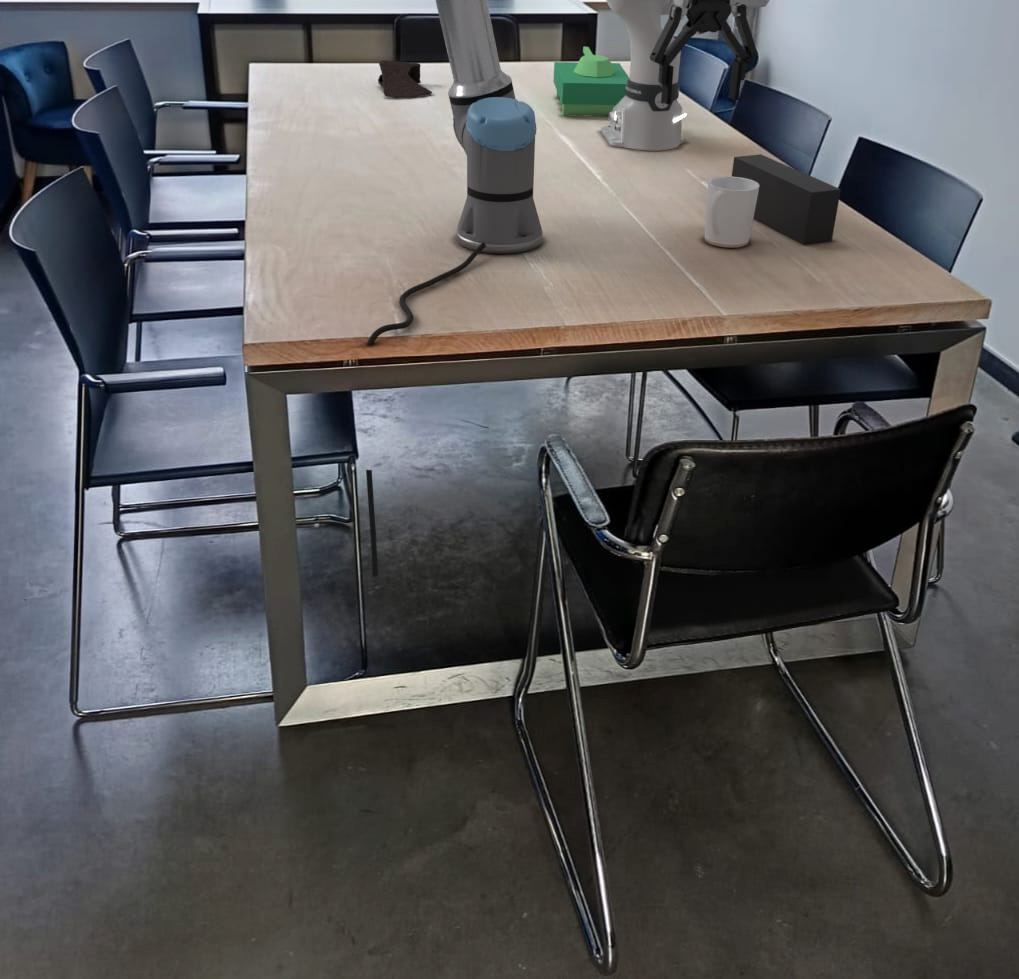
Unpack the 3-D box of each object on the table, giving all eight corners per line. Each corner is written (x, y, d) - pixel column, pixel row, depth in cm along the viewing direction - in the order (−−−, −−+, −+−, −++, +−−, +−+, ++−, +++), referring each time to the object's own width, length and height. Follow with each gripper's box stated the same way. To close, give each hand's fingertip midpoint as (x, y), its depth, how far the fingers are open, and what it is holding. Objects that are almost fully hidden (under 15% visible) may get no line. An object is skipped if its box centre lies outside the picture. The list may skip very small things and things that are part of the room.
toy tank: (616, 43, 300) (635, 68, 271) (613, 90, 307) (630, 119, 277) (552, 42, 300) (564, 66, 270) (550, 88, 306) (561, 118, 276)
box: (831, 241, 199) (841, 189, 194) (803, 244, 197) (812, 192, 192) (754, 202, 219) (761, 154, 214) (727, 205, 217) (733, 156, 212)
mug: (717, 229, 203) (724, 173, 198) (760, 239, 198) (768, 183, 193) (686, 243, 196) (692, 186, 190) (730, 255, 191) (737, 196, 186)
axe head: (443, 87, 294) (392, 77, 287) (436, 115, 299) (385, 106, 292) (421, 62, 307) (371, 52, 300) (414, 89, 311) (365, 80, 304)
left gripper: (766, -30, 197) (751, 92, 208) (637, -26, 191) (629, 100, 202) (786, -25, 191) (770, 101, 202) (653, -21, 185) (644, 109, 196)
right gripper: (763, -47, 217) (753, 28, 224) (673, -45, 210) (666, 32, 217) (781, -44, 212) (771, 33, 219) (690, -41, 205) (682, 37, 212)
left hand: (699, 101), depth 202 cm, fingers open, 13 cm apart
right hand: (718, 32), depth 218 cm, fingers open, 8 cm apart
